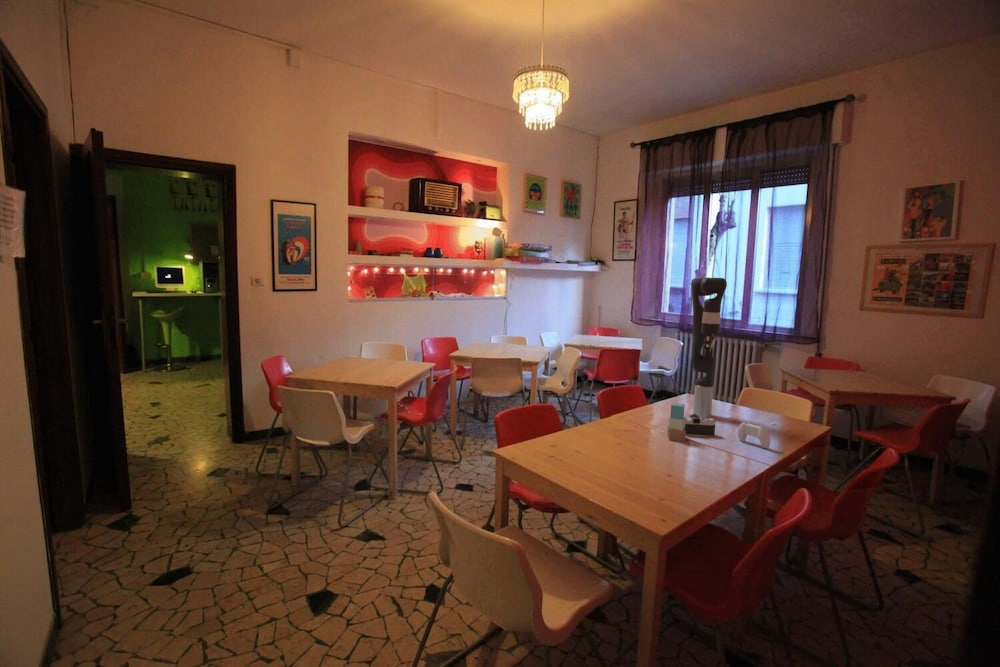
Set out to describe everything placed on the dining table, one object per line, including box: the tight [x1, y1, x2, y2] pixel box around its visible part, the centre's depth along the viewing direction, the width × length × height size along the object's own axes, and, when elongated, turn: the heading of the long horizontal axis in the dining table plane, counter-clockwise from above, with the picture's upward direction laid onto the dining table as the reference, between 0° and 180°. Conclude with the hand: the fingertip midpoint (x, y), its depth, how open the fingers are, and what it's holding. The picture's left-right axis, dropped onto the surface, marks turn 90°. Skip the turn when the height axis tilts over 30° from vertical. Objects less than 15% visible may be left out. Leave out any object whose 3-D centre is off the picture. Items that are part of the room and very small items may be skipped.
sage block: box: [668, 416, 686, 431], centre depth 218 cm, size 6×6×5 cm
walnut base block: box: [667, 424, 687, 442], centre depth 218 cm, size 7×7×5 cm
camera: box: [685, 413, 717, 437], centre depth 226 cm, size 16×9×10 cm, turn 83°
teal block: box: [669, 402, 685, 420], centre depth 217 cm, size 5×5×6 cm
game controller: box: [737, 421, 771, 450], centre depth 211 cm, size 14×4×10 cm, turn 31°
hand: (708, 358), depth 213 cm, fingers open, 8 cm apart
